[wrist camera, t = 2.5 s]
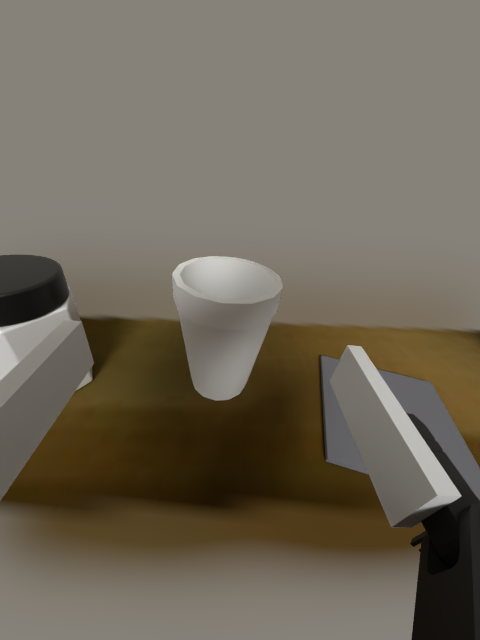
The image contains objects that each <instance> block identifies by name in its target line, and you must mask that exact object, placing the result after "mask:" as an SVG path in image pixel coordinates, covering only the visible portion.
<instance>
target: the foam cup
mask: <svg viewBox="0 0 480 640" xmlns="http://www.w3.org/2000/svg"><path fill="white" fill-rule="evenodd" d="M172 281H173V298H174V302H175V304H176V307H177V310H178V312H179V318H180V323H181V328H182V333H183V338H184V343H185V348H186V353H187V358H188V364H189V369H190V374H191V378H192V382H193V385H194V388H195V390H196V391H197V392H199V393H200V394H201V395H202V396H203V397H205V398H209V399H212V400H215V401H219V400H229V399H231V398H233V397H235V396H237V395H239V394H240V393H241V391H242V390H243V388H244V387H245V385H246V383H247V381H248V378H249V376H250V373H251V371H252V368H253V365H254V363H255V360H256V358H257V355H258V353H259V350H260V348H261V345H262V343H263V340H264V338H265V335H266V333H267V330H268V328H269V325H270V323H271V320H272V318H273V316H274V315H275V314H276V312H277V311H278V307H279V302H280V298H281V294H282V290H283V286H282V281H281V277H279V276H278V275H277V274H276V273H275V272H273V271H272V270H271V269H270V268H267V267H265V266H263V265H261V264H258V263H256V262H253V261H249V260H244V259H239V258H234V257H221V256H209V257H201V258H194V259H191V260H189V261H186V262H184V263H182V264H179V265H178V267H177V268H176V269H175V271H174V272H173V274H172Z"/></svg>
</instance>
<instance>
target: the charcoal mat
mask: <svg viewBox="0 0 480 640" xmlns="http://www.w3.org/2000/svg"><path fill="white" fill-rule="evenodd" d="M339 361H340V360H338V359H334V358H330V357H326V356H322V355H321V358H320V365H321V384H322V403H323V422H324V441H325V460H326V462H329V463H333V464H336V465H339V466H342V467H346V468H349V469H352V470H356V471H359V472H362V473H365V474H368V471H367V469H366V466H365V464H364V462H363V459H362V457H361V455H360V452H359V450H358V448H357V445H356V443H355V441H354V438H353V436H352V433H351V431H350V429H349V426H348V424H347V422H346V419H345V417H344V415H343V412H342V410H341V408H340V405H339V403H338V400H337V398H336V396H335V393H334V391H333V389H332V386H331V384H330V382H329V381H330V379H331V377H332V375H333V373H334V371H335V369H336V367H337V365H338V363H339ZM377 371H378V372H379V374H380V375H381V377H382V378H383V380H384V381H385V383H386V384H387V386H388V387H389V389H390V390H391V392H392V393H393V394H394V396H395V397H396V399H397V400H398V402H399V403H400V405H401V406H402V408H403V409H404V411H405V412H406V413H409V414H414V415H415V416H416V417H417V418H418V419H419V420H420V421H421V422H423V423H424V424H425V425H426V427H427V428H428V429H429V431H430V432H431V434H432V435H433V436H434V438H435V441H437V442H438V443H439V445H440V446H441V448H442V449H443V452H445V453H446V455H447V456H448V457H449V459H450V460H451V462H452V463H453V464H454V466H455V467H456V469H457V470H458V471H459V473H460V474H461V476H462V477H463V478H464V480H465V481H466V483H467V484H468V485H469V487H470V488H471V490H472V491H473V492H474V494H475V495H476V496H477V498H478V499H479V500H480V468H479V466H478V464H477V463H476V461H475V459H474V457H473V455H472V454H471V452H470V450H469V448H468V447H467V445H466V443H465V441H464V439H463V438H462V436H461V434H460V432H459V431H458V429H457V427H456V425H455V423H454V422H453V420H452V418H451V416H450V415H449V413H448V411H447V409H446V407H445V406H444V404H443V402H442V400H441V399H440V397H439V395H438V393H437V391H436V390H435V388H434V386H433V384H432V383H431V382H427V381H423V380H419V379H415V378H411V377H407V376H403V375H399V374H395V373H391V372H387V371H383V370H379V369H377Z"/></svg>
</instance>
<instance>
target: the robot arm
mask: <svg viewBox="0 0 480 640" xmlns="http://www.w3.org/2000/svg"><path fill="white" fill-rule="evenodd" d="M93 364H94V361H93V358H92V354H91V351H90V348H89V344H88V341H87V338H86V334H85V331H84V328H83V324H82V321H72V320H64V321H63V322H62V323H61V324H59V325H58V326H57V327H56V328H55V329H54V330H53V331H52V332H51V333H50V334H49V335H48V336H47V337H46V338H45V339H44V340H43V341H42V342H41V343H39V344H38V345H37V346H36V347H35V348H34V349H33V350H32V351H31V352H30V353H29V354H28V355H27V356H26V357H25V358H24V359H23V360H22V361H21V362H19V363H18V364H17V365H16V366H15V367H14V368H13V369H12V370H11V371H10V372H9V373H8V374H7V375H6V376H5V377H4V378H3V379H2V380H0V500H1V499H2V497H3V496H4V495H5V493H6V492H7V490H8V489H9V487H10V486H11V484H12V483H13V481H14V480H15V478H16V477H17V476H18V474H19V473H20V471H21V470H22V468H23V467H24V465H25V464H26V462H27V461H28V459H29V458H30V457H31V455H32V454H33V452H34V451H35V449H36V448H37V446H38V445H39V443H40V442H41V440H42V439H43V438H44V436H45V435H46V433H47V432H48V430H49V429H50V427H51V426H52V424H53V423H54V421H55V420H56V419H57V417H58V416H59V414H60V413H61V411H62V410H63V408H64V407H65V405H66V404H67V402H68V401H69V400H70V398H71V397H72V395H73V394H74V392H75V391H76V389H77V388H78V386H79V385H80V383H81V382H82V381H83V379H84V378H85V376H86V375H87V373H88V372H89V370H90V369H91V367H92V366H93ZM329 382H330V384H331V386H332V389H333V391H334V393H335V396H336V398H337V400H338V403H339V405H340V408H341V410H342V412H343V415H344V417H345V419H346V422H347V424H348V426H349V429H350V431H351V433H352V436H353V438H354V441H355V443H356V445H357V448H358V450H359V452H360V455H361V457H362V459H363V462H364V464H365V466H366V469H367V471H368V474H369V476H370V478H371V481H372V483H373V485H374V488H375V490H376V492H377V495H378V497H379V499H380V502H381V504H382V507H383V509H384V511H385V514H386V516H387V518H388V521H389V523H390V525H391V527H396V528H397V527H398V528H412V527H414V526H415V525H417V524H418V523H420V522H422V524H423V526H424V528H425V530H426V531H425V532H423V533H421V534H420V535H418V536H416V537H415V538H413V539H412V541H411V545H412V546H416V545H418V544H420V543H421V549H419V551H420V552H421V553H420V564H419V572H418V573H419V574H418V582H417V592H416V603H415V613H414V622H413V632H412V640H480V500H479V499H478V498H477V496H476V495H475V494H474V492H473V491H472V490H471V488H470V487H469V485H468V484H467V483H466V481H465V480H464V478H463V477H462V476H461V474H460V473H459V471H458V470H457V469H456V467H455V466H454V464H453V463H452V462H451V460H450V459H449V457H448V456H447V455H446V453H445V452H443V449H442V448H441V446H440V445H439V443H438V442H437V441H435V438H434V436H433V435H432V434H431V432H430V431H429V429H428V428H427V427H426V425H425V424H424V423H423V422H421V421H420V420H419V419H418V418H417V417H416V416H415V415H414V414H409V413H406V412H405V411H404V409H403V408H402V406H401V405H400V403H399V402H398V400H397V399H396V397H395V396H394V394H393V393H392V392H391V390H390V389H389V387H388V386H387V384H386V383H385V381H384V380H383V378H382V377H381V375H380V374H379V372H378V371H377V369H376V368H375V366H374V365H373V363H372V362H371V360H370V359H369V357H368V356H367V354H366V353H365V351H364V350H363V348H362V347H361V346H351V345H347V347H346V349H345V351H344V353H343V355H342V357H341V359H340V361H339V363H338V365H337V367H336V369H335V371H334V373H333V375H332V377H331V379H330V381H329Z"/></svg>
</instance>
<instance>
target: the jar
mask: <svg viewBox="0 0 480 640" xmlns="http://www.w3.org/2000/svg"><path fill="white" fill-rule="evenodd" d="M64 320H72V321H81V320H80V317H79V314H78V311H77V308H76V305H75V301H74V298H73V295H72V292H71V289H70V286H69V285H67V282H66V279H65V276H64V273H63V270H62V268H61V266H60V264H59V263H57V262H56V261H54V260H52V259H49V258H46V257H41V256H34V255H2V256H0V380H2V379H3V378H4V377H5V376H6V375H7V374H8V373H9V372H10V371H11V370H12V369H13V368H14V367H15V366H16V365H17V364H18V363H19V362H21V361H22V360H23V359H24V358H25V357H26V356H27V355H28V354H29V353H30V352H31V351H32V350H33V349H34V348H35V347H36V346H37V345H38V344H39V343H41V342H42V341H43V340H44V339H45V338H46V337H47V336H48V335H49V334H50V333H51V332H52V331H53V330H54V329H55V328H56V327H57V326H58V325H59V324H61V323H62V322H63V321H64ZM92 379H93V377H92V367H91V369H90V370H89V372H88V373H87V375H86V376H85V378H84V379H83V381H82V382H81V383H80V385H79V386H78V388H77V389H76V391H77V390H78V389H80V388H82V387H83V386H85V385H86V384H88V383H89V382H91V381H92Z"/></svg>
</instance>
